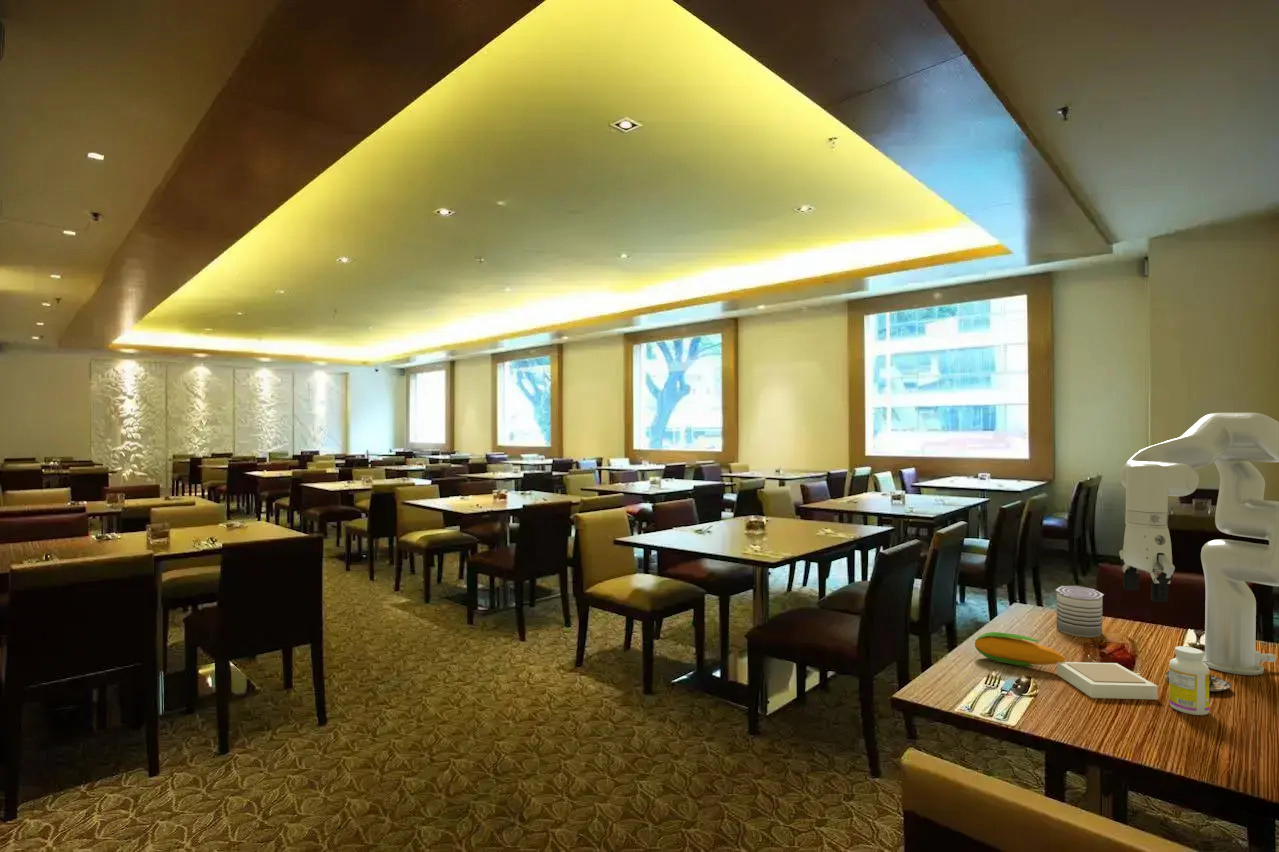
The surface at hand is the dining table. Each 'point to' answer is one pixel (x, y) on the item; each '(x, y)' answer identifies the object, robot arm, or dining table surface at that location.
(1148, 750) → the dining table surface
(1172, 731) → the dining table surface
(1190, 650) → the supplement bottle
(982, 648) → the corn
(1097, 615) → the can
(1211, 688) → the burger
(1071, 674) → the base
